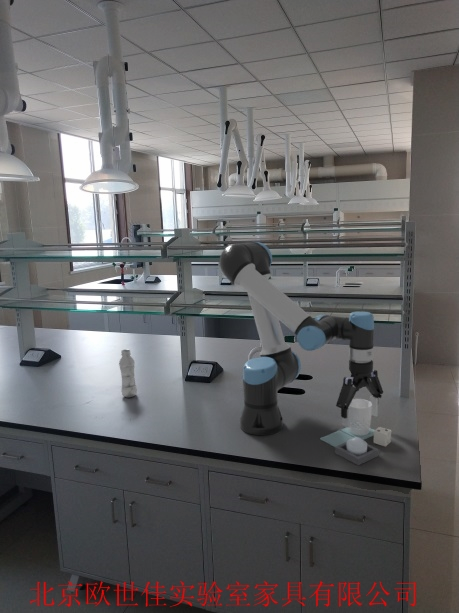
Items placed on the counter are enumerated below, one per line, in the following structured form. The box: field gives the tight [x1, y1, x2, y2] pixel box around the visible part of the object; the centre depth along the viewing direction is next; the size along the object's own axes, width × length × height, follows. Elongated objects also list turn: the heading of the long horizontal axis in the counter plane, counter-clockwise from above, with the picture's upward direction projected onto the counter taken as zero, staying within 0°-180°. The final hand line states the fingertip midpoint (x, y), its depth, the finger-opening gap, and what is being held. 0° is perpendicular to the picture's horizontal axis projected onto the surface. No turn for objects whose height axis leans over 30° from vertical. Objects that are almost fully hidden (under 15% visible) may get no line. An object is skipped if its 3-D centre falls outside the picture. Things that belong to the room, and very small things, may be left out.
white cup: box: [348, 398, 372, 436], centre depth 148 cm, size 8×8×10 cm
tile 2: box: [339, 427, 376, 441], centre depth 149 cm, size 9×9×1 cm
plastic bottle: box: [118, 348, 138, 398], centre depth 186 cm, size 6×7×20 cm
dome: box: [346, 437, 368, 456], centre depth 134 cm, size 6×6×5 cm
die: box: [373, 426, 392, 448], centre depth 141 cm, size 4×4×4 cm
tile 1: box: [319, 429, 354, 448], centre depth 144 cm, size 9×9×1 cm
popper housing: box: [334, 442, 380, 466], centre depth 135 cm, size 9×9×2 cm
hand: (360, 420), depth 148 cm, fingers open, 13 cm apart
